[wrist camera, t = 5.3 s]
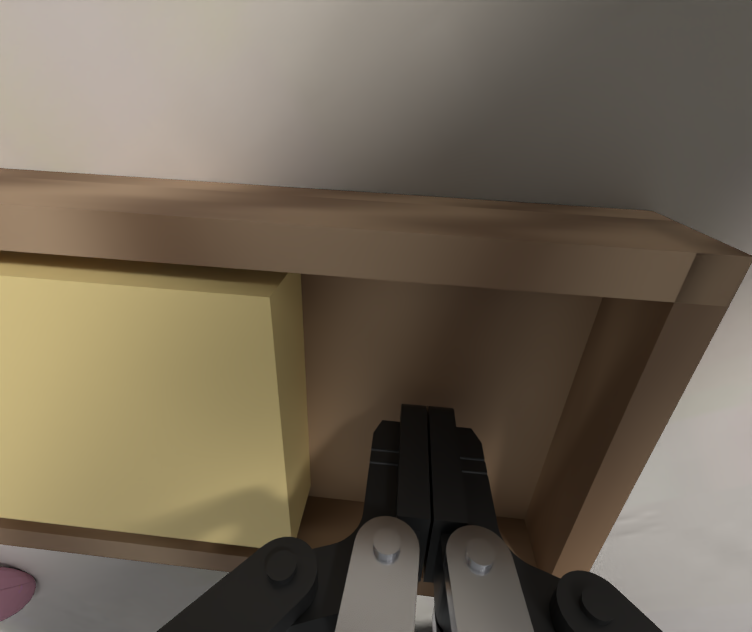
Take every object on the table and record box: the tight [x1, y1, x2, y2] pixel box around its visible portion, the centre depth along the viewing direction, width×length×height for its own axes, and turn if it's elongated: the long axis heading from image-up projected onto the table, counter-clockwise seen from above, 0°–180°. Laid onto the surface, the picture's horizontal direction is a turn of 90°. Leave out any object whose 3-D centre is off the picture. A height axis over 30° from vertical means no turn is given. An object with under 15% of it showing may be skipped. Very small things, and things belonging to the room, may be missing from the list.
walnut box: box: [0, 168, 752, 597], centre depth 12 cm, size 21×12×4 cm, turn 87°
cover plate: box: [0, 250, 311, 548], centre depth 12 cm, size 12×9×2 cm
